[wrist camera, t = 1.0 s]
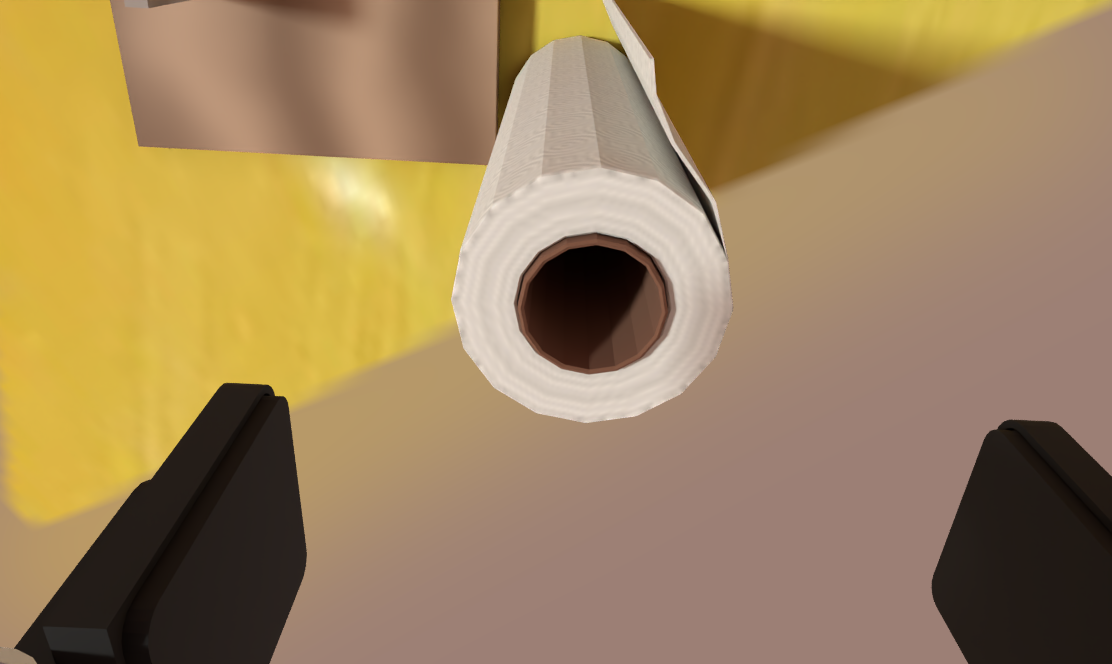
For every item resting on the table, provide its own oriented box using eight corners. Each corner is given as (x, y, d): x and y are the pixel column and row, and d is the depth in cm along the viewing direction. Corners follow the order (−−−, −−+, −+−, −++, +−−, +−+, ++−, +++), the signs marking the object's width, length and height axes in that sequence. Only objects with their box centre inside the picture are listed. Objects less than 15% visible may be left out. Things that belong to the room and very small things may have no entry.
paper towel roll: (573, 195, 37) (583, 473, 18) (483, 101, 35) (389, 304, 16) (691, 90, 35) (842, 283, 16) (602, -18, 33) (653, 58, 14)
